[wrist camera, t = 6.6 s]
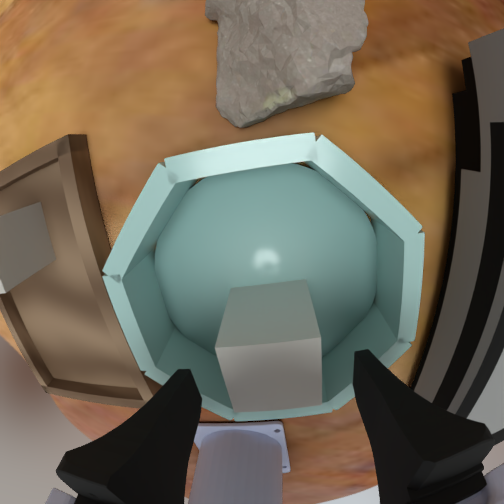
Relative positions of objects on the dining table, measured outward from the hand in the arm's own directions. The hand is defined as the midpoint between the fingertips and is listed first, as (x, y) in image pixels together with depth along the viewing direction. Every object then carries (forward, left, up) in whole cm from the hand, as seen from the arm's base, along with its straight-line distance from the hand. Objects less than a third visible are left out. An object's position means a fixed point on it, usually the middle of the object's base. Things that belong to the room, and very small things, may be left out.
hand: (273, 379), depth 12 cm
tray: (+3, +15, -6) cm, 17 cm away
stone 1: (+8, +15, -5) cm, 18 cm away
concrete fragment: (+17, -3, -6) cm, 18 cm away
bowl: (+3, 0, -6) cm, 6 cm away
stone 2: (+1, 0, -5) cm, 5 cm away
